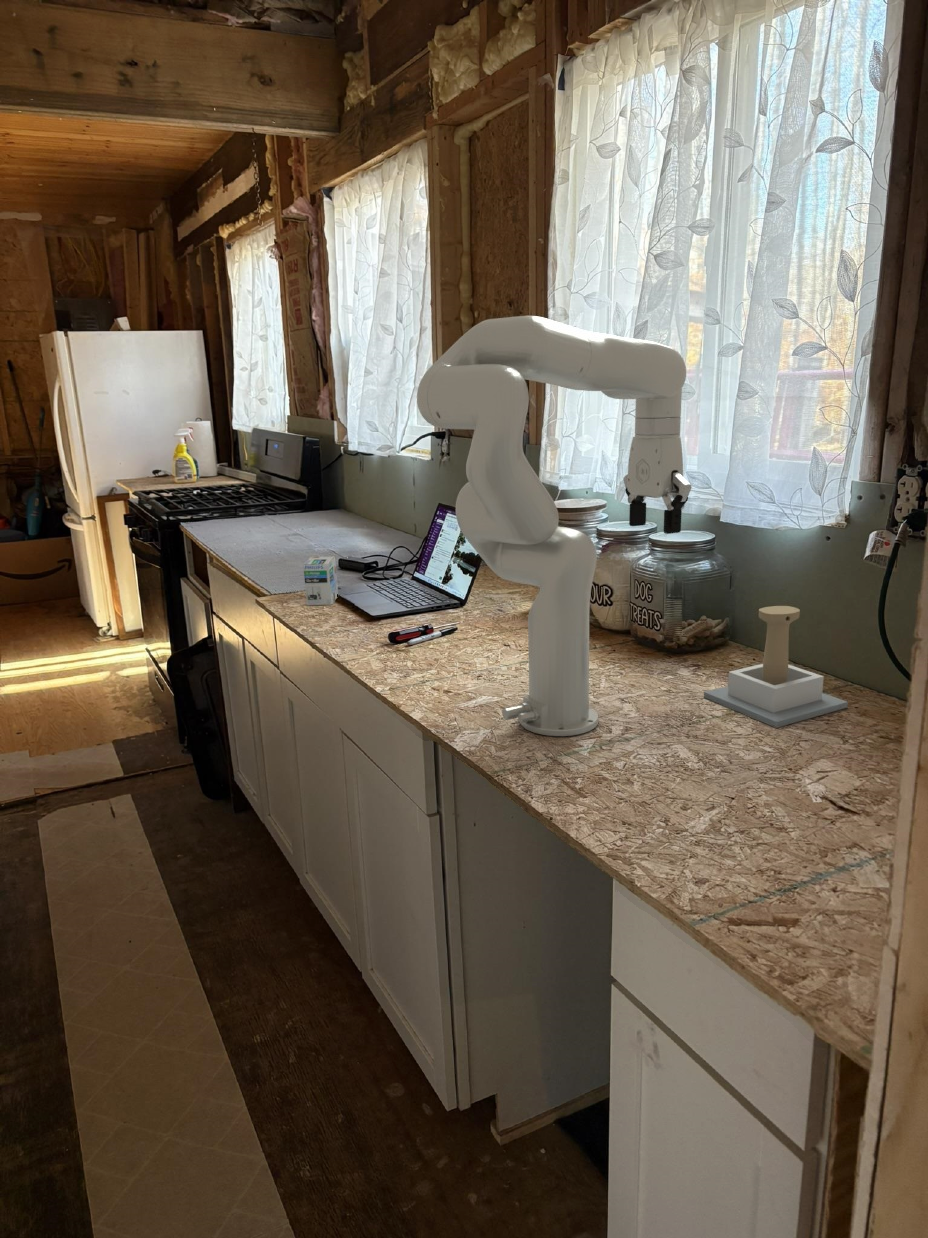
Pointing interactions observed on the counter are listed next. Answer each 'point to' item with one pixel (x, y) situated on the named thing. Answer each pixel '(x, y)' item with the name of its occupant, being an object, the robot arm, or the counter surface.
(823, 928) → the counter surface
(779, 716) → the socket plate
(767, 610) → the handle
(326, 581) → the light bulb box
